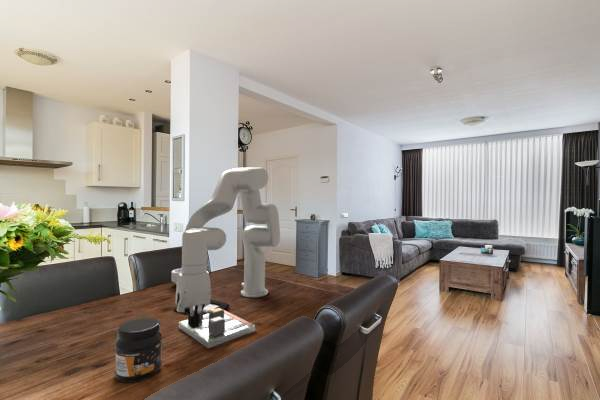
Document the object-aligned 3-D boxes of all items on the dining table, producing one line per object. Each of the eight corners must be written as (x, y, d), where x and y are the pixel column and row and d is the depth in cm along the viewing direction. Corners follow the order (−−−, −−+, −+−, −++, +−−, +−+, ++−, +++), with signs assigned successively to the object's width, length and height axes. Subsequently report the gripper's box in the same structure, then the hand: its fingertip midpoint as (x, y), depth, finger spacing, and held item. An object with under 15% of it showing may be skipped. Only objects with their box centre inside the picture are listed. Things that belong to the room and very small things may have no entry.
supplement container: (111, 388, 70) (111, 336, 70) (117, 365, 80) (118, 320, 80) (161, 378, 74) (161, 329, 74) (162, 357, 84) (162, 314, 84)
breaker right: (208, 333, 94) (208, 319, 94) (219, 329, 97) (219, 315, 97) (213, 336, 92) (213, 322, 92) (224, 332, 95) (225, 318, 95)
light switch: (169, 307, 119) (195, 294, 132) (169, 314, 119) (195, 300, 132) (208, 316, 111) (232, 301, 123) (208, 323, 111) (232, 308, 123)
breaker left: (187, 320, 104) (188, 307, 104) (198, 317, 107) (198, 305, 107) (191, 322, 102) (192, 310, 102) (203, 319, 105) (203, 307, 105)
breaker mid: (208, 323, 102) (208, 310, 102) (219, 319, 105) (219, 307, 105) (213, 325, 100) (213, 312, 100) (224, 322, 103) (224, 309, 103)
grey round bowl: (181, 280, 164) (181, 265, 164) (208, 281, 162) (208, 266, 162) (164, 288, 149) (165, 272, 149) (194, 290, 147) (194, 273, 147)
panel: (178, 327, 104) (178, 321, 104) (222, 314, 116) (223, 309, 116) (208, 348, 89) (208, 340, 89) (254, 331, 102) (255, 324, 102)
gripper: (210, 263, 105) (209, 317, 105) (165, 270, 94) (165, 330, 94) (221, 267, 100) (220, 323, 99) (176, 275, 89) (175, 338, 89)
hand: (193, 326), depth 97 cm, fingers closed
